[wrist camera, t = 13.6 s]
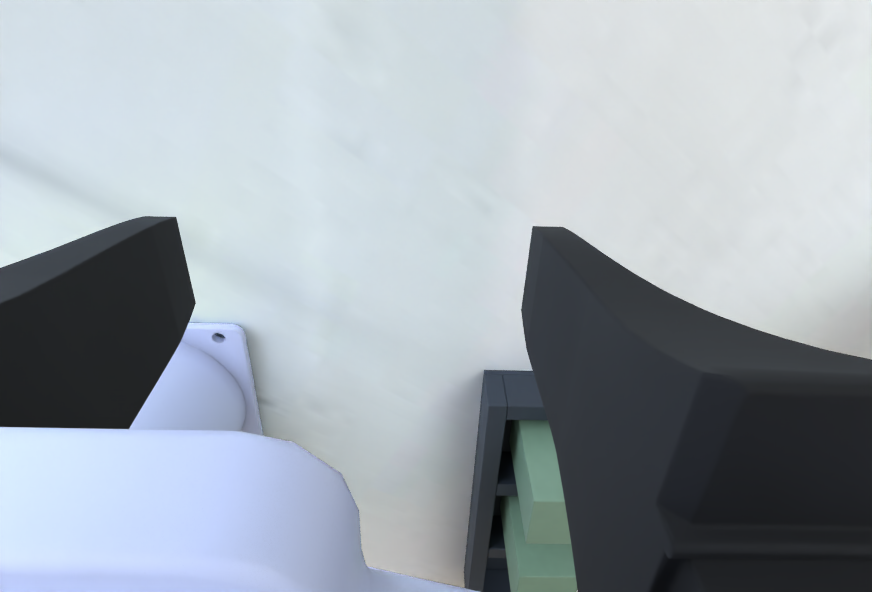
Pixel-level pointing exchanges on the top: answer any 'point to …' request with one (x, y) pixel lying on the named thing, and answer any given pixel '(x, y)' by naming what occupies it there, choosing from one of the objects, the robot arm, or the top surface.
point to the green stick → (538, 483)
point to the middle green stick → (534, 557)
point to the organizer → (496, 474)
